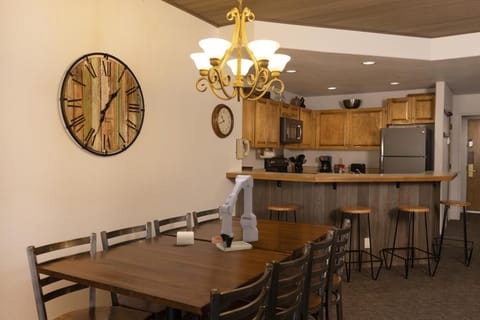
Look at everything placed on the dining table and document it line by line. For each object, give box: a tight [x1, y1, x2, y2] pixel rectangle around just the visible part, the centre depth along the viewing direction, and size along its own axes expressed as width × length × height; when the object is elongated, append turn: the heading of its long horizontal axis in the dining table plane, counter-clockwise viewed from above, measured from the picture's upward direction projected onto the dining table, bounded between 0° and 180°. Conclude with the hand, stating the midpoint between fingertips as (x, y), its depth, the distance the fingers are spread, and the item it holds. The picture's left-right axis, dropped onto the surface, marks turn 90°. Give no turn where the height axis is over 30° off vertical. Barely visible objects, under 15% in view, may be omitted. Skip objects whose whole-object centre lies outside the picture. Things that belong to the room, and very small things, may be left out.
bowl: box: [211, 235, 234, 246], centre depth 245 cm, size 13×13×4 cm
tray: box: [215, 240, 253, 252], centre depth 233 cm, size 18×13×2 cm
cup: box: [176, 231, 195, 246], centre depth 244 cm, size 8×12×10 cm
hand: (227, 246), depth 231 cm, fingers open, 5 cm apart
